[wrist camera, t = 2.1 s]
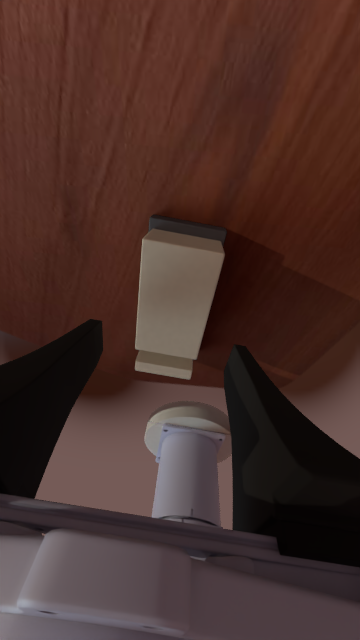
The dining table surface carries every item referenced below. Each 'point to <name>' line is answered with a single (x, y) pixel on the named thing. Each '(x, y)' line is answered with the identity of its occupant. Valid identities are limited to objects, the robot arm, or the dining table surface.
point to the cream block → (176, 293)
